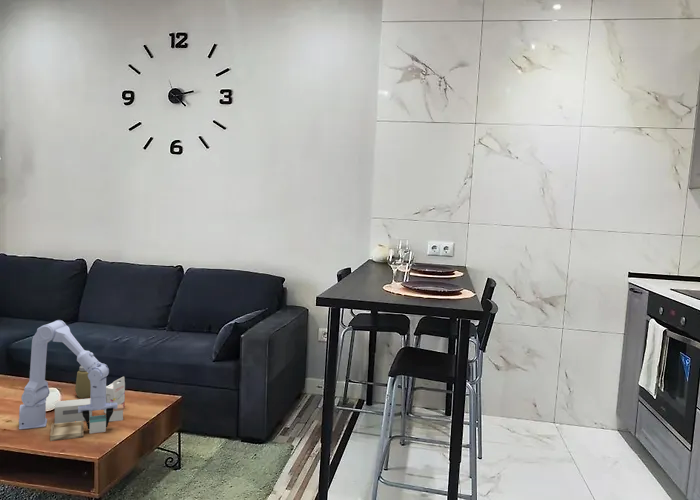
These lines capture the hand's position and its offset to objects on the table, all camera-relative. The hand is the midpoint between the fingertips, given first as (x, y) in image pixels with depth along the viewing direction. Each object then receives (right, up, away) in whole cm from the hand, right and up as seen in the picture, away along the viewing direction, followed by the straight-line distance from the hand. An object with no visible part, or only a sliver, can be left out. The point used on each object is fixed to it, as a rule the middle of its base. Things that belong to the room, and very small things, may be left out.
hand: (97, 427), depth 228 cm
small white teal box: (0, -1, 0) cm, 1 cm away
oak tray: (-10, -1, -4) cm, 11 cm away
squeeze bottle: (-22, +3, +35) cm, 41 cm away
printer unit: (-15, 0, +10) cm, 18 cm away
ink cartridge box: (-2, +1, +21) cm, 21 cm away
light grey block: (+2, 0, +12) cm, 12 cm away
